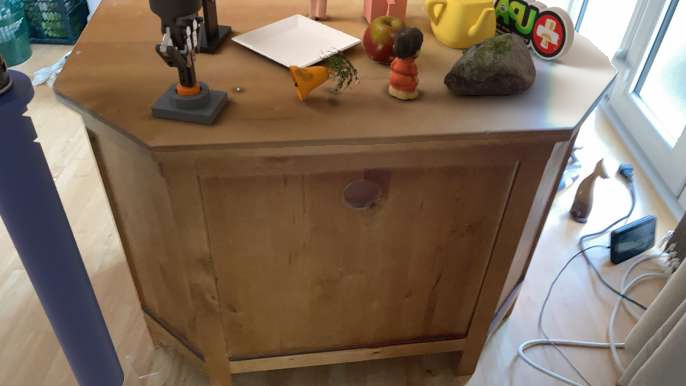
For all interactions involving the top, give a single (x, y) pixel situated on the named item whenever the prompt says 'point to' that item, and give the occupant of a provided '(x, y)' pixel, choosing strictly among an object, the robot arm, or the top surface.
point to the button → (188, 90)
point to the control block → (190, 105)
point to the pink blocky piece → (384, 9)
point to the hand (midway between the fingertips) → (188, 85)
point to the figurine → (405, 63)
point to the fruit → (382, 38)
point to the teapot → (462, 21)
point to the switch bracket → (212, 28)
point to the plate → (296, 41)
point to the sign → (536, 26)
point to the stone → (493, 67)
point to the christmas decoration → (320, 75)
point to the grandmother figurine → (317, 9)
